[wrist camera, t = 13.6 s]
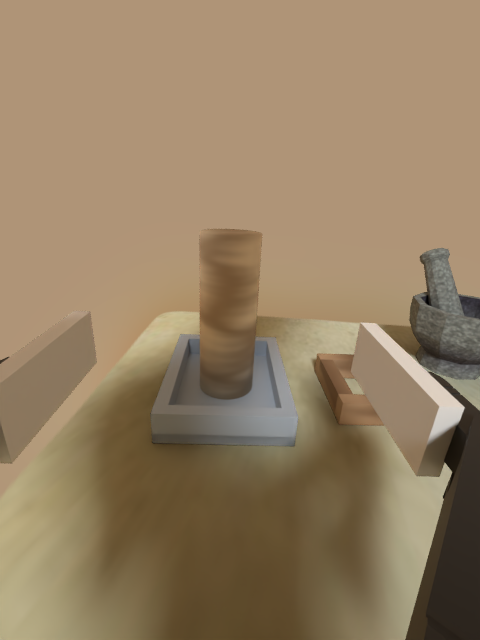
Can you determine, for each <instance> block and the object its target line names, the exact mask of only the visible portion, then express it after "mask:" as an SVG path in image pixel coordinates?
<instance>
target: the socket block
mask: <svg viewBox="0 0 480 640" xmlns="http://www.w3.org/2000/svg"><path fill="white" fill-rule="evenodd" d="M353 357H354V355H347V354H317V360H316V366H315V373H316V375H317V377H318V379H319V381H320V384H321V386H322V388H323V390H324V393H325V395H326V397H327V399H328V401H329V404H330V406H331V408H332V410H333V412H334V415H335V417H336V419H337V421H338V424H344V425H384V424H383V422H382V421H381V419H380V417H379V416H378V414H377V413H376V411H375V409H374V408H373V406H372V405H371V403H370V401H369V400H368V398H367V397H366V395H357V394H353V393H352V392H351V390H350V388H349V387H348V385H347V383H346V381H345V380H344V378H354V376H353V375H352V373H351V368H352V363H353ZM384 426H385V425H384Z"/></svg>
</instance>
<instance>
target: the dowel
mask: <svg viewBox="0 0 480 640" xmlns="http://www.w3.org/2000/svg"><path fill="white" fill-rule="evenodd" d="M199 238H200V239H199V245H200V388H201V390H202V391H203V392H204V393H205V394H207V395H208V396H211V397H213V398H217V399H224V400H230V399H237V398H240V397H243V396H245V395H246V394H248V393H249V392H250V391H251V389H252V382H253V367H254V352H255V337H256V321H257V306H258V291H259V276H260V261H261V245H262V233H260V232H255V231H248V230H235V229H207V230H201V231H200V235H199Z"/></svg>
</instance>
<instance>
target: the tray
mask: <svg viewBox="0 0 480 640" xmlns="http://www.w3.org/2000/svg"><path fill="white" fill-rule="evenodd" d="M150 415H151V429H152V443H177V444H221V445H265V446H294V445H295V437H296V430H297V423H298V415H297V411H296V408H295V404H294V401H293V397H292V394H291V390H290V387H289V383H288V380H287V376H286V373H285V369H284V366H283V362H282V359H281V355H280V352H279V348H278V344H277V341H276V337H255V352H254V367H253V382H252V389H251V391H250V392H249V393H248V394H246V395H245V396H243V397H240V398H237V399H230V400H224V399H217V398H213V397H211V396H208V395H207V394H205V393H204V392H203V391H202V390H201V388H200V335H191V334H180V337H179V339H178V342H177V345H176V347H175V350H174V353H173V355H172V358H171V361H170V363H169V366H168V368H167V371H166V374H165V376H164V379H163V382H162V384H161V387H160V390H159V392H158V395H157V397H156V400H155V403H154V405H153V408H152V411H151V413H150Z"/></svg>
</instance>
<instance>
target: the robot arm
mask: <svg viewBox="0 0 480 640" xmlns="http://www.w3.org/2000/svg"><path fill="white" fill-rule="evenodd" d="M96 362H97V359H96V352H95V344H94V337H93V329H92V322H91V314H90V312H89V311H87V312H86V311H73V312H72V313H70V314H69V315H68V316H66V317H65V318H63V319H62V320H61V321H59V322H58V323H57V324H55V325H54V326H53V327H51V328H50V329H48V330H47V331H45V332H44V333H43V334H41V335H40V336H38V337H37V338H36V339H34V340H33V341H32V342H30V343H29V344H27V345H26V346H25V347H23V348H22V349H20V350H19V351H18V352H16V353H15V354H13V355H12V356H11V357H7V358H5V359H3V360H0V463H13V462H14V461H15V459H16V458H17V457H18V456H19V455H20V453H21V452H22V451H23V450H24V449H25V447H26V446H27V445H28V444H29V443H30V441H31V440H32V439H33V438H34V437H35V435H36V434H37V433H38V432H39V430H41V428H42V427H43V426H44V425H45V423H46V422H47V421H48V420H49V419H50V418H51V416H52V415H53V414H54V412H56V410H57V409H58V408H59V407H60V406H61V404H62V403H63V402H64V401H65V400H66V398H67V397H68V396H69V395H70V394H71V392H72V391H73V390H74V389H75V388H76V386H77V385H78V384H79V383H80V382H81V380H82V379H83V378H84V377H85V376H86V374H87V373H88V372H89V371H90V370H91V368H92V367H93V366H94V365H95V364H96ZM351 373H352V375H353V376H354V378H355V379H356V381H357V382H358V384H359V386H360V387H361V389H362V390H363V392H364V394H365V395H366V397H367V398H368V400H369V401H370V403H371V405H372V406H373V408H374V409H375V411H376V413H377V414H378V416H379V417H380V419H381V421H382V422H383V424H384V425H385V427H386V428H387V430H388V432H389V433H390V435H391V436H392V438H393V440H394V441H395V443H396V444H397V446H398V448H399V449H400V451H401V452H402V454H403V455H404V457H405V459H406V460H407V462H408V463H409V465H410V467H411V468H412V470H413V471H414V473H415V475H416V476H433V477H439V476H440V474H441V471H442V468H443V465H444V463H446V464H447V465H448V467H449V468H450V469H451V471H452V474H451V477H450V480H449V482H448V485H447V488H446V490H445V493H444V495H443V498H444V501H443V505H442V508H441V512H440V516H439V519H438V523H437V527H436V530H435V534H434V537H433V541H432V545H431V548H430V552H429V556H428V559H427V563H426V566H425V570H424V574H423V577H422V581H421V585H420V588H419V592H418V596H417V599H416V603H415V606H414V610H413V614H412V617H411V621H410V625H409V628H408V632H407V636H406V639H405V640H480V411H479V410H478V409H477V408H476V407H475V406H473V405H472V404H471V403H470V402H469V401H468V400H467V399H466V398H465V397H463V396H462V395H460V393H459V392H458V391H457V390H456V389H454V388H453V387H452V386H451V385H450V384H449V383H448V382H447V381H446V380H445V379H443V378H441V377H440V376H438V375H436V374H434V373H432V372H427V371H426V370H425V369H424V368H423V367H421V366H420V365H419V364H418V363H417V362H416V361H415V360H414V359H413V358H412V357H411V356H410V355H409V354H408V353H407V352H406V351H405V350H404V349H402V348H401V347H400V346H399V345H398V344H397V343H396V342H395V341H394V340H393V339H392V338H391V337H390V336H389V335H388V334H387V333H386V332H384V331H383V330H382V329H381V328H380V327H379V326H378V325H377V324H376V323H360V327H359V332H358V337H357V342H356V347H355V352H354V357H353V363H352V368H351Z"/></svg>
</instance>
